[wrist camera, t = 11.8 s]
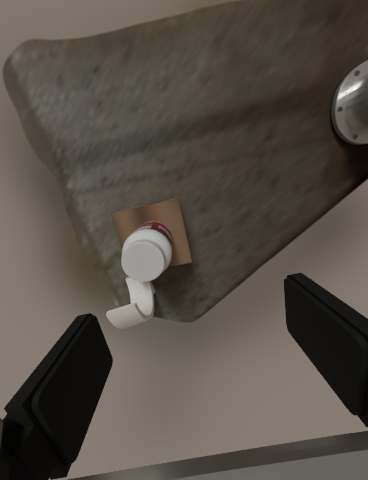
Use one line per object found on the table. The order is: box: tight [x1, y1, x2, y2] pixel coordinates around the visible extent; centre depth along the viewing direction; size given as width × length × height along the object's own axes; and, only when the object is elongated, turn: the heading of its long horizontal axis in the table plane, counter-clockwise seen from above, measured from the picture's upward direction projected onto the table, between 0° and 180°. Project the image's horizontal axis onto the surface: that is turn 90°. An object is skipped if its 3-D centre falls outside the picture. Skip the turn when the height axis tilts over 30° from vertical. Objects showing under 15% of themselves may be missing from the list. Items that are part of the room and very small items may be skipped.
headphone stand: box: [106, 277, 155, 329], centre depth 34 cm, size 5×6×12 cm
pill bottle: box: [121, 221, 173, 282], centre depth 25 cm, size 6×6×11 cm
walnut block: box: [111, 198, 192, 268], centre depth 34 cm, size 11×11×6 cm
